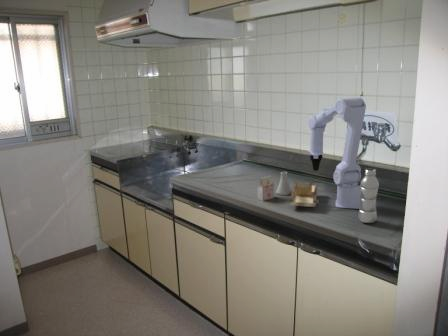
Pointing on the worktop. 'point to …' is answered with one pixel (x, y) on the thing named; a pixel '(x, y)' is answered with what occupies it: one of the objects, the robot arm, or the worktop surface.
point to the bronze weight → (304, 189)
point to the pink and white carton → (265, 188)
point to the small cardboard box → (303, 197)
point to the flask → (283, 185)
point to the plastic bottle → (368, 197)
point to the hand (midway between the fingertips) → (315, 170)
